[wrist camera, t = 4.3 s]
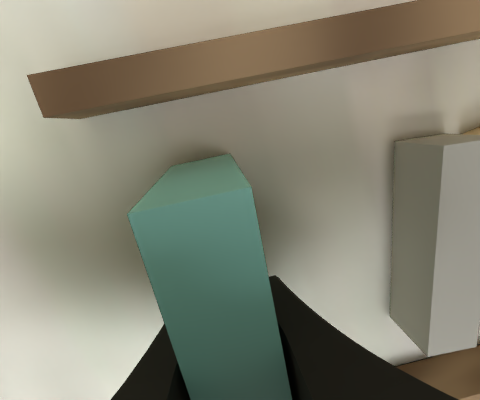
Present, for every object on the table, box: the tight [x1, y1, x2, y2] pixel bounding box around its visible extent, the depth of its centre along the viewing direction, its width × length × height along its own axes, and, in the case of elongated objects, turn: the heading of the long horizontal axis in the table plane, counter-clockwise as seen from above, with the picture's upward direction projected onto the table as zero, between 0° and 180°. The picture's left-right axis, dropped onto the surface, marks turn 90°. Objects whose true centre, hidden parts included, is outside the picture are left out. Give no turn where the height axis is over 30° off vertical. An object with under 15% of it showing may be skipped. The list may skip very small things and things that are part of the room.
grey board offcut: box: [390, 134, 480, 357], centre depth 10 cm, size 2×8×2 cm, turn 7°
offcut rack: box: [27, 0, 480, 400], centre depth 10 cm, size 18×16×2 cm
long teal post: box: [127, 154, 292, 400], centre depth 8 cm, size 2×10×5 cm, turn 11°
